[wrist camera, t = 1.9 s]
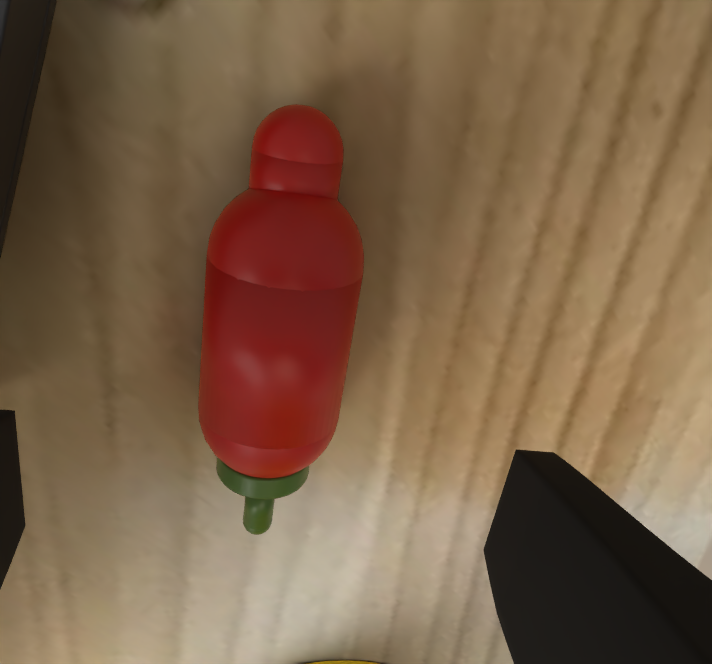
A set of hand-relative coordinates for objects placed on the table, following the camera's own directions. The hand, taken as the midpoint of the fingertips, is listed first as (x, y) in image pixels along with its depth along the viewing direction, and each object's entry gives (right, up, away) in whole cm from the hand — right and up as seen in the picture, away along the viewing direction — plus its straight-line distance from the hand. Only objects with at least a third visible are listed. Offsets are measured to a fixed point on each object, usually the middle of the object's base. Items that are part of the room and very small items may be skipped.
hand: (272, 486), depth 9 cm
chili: (-1, +3, +6) cm, 7 cm away
